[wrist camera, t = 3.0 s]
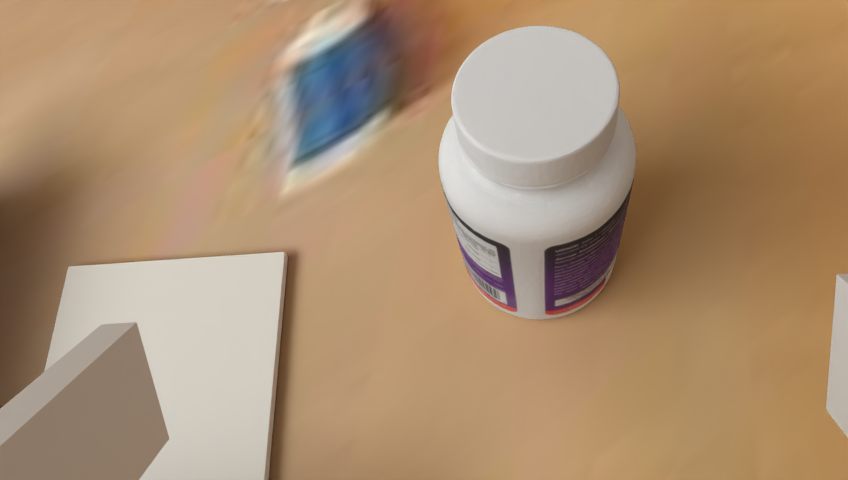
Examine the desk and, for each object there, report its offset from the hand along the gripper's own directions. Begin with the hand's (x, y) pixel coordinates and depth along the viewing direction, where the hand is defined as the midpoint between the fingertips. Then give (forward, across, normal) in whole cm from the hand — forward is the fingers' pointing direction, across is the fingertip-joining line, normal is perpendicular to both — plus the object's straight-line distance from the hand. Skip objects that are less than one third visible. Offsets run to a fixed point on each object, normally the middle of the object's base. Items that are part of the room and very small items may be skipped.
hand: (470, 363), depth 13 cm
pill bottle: (+12, +2, -3) cm, 13 cm away
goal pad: (+10, -12, -5) cm, 16 cm away
